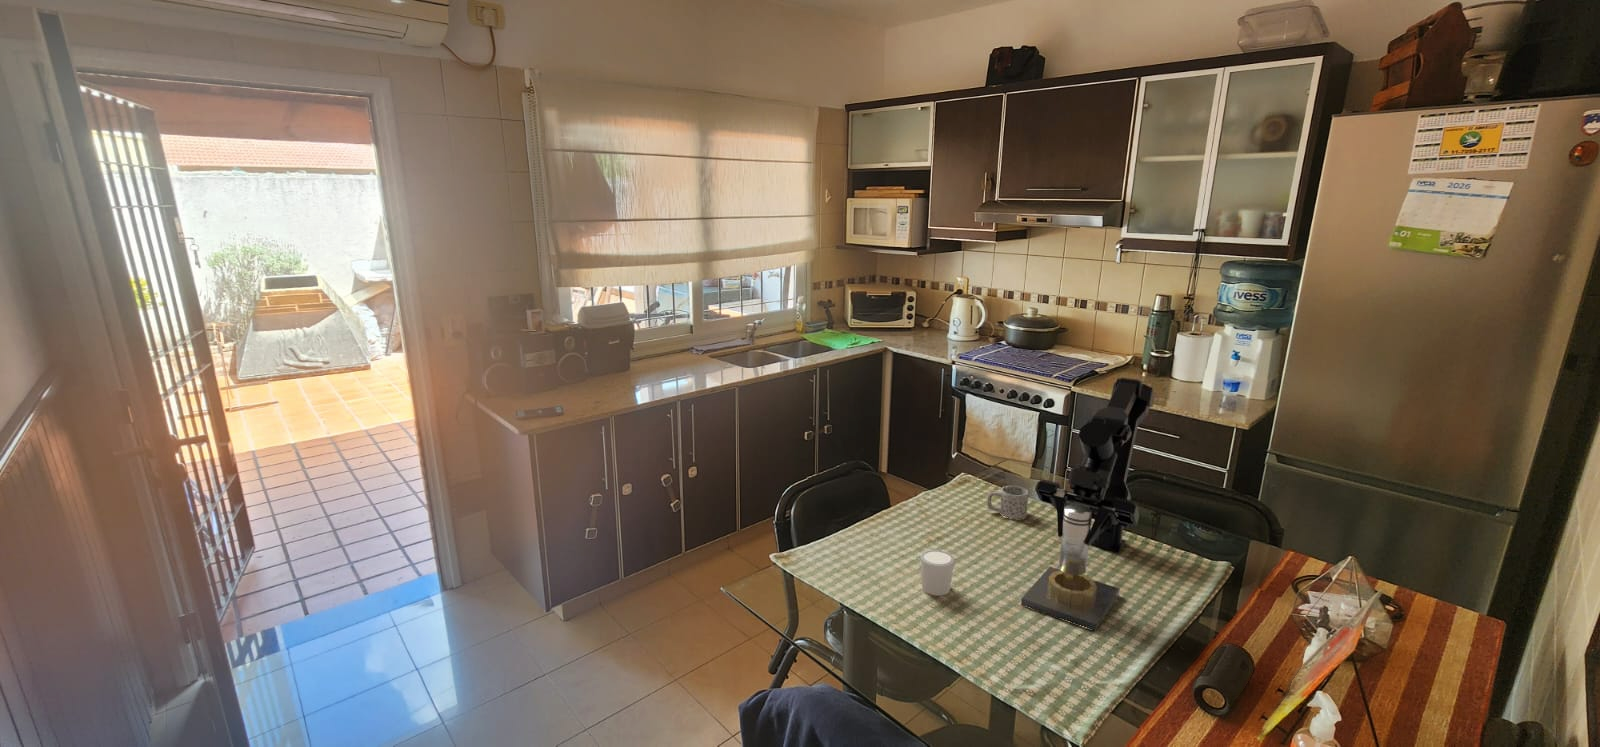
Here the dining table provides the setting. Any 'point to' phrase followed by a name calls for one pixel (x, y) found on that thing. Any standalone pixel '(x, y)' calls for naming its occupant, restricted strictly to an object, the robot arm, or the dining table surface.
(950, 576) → the white cylinder
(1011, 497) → the mug
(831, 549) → the dining table surface
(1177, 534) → the dining table surface
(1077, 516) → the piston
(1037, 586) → the tube holder stand
